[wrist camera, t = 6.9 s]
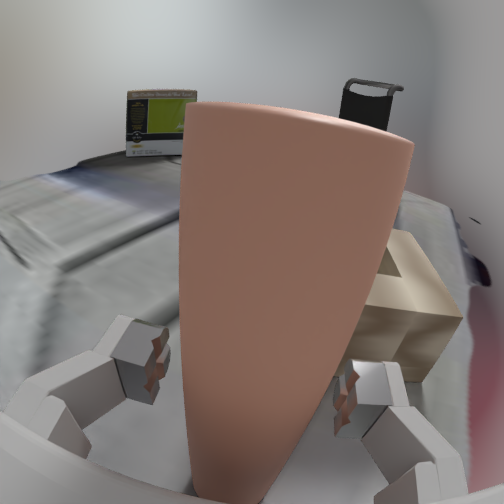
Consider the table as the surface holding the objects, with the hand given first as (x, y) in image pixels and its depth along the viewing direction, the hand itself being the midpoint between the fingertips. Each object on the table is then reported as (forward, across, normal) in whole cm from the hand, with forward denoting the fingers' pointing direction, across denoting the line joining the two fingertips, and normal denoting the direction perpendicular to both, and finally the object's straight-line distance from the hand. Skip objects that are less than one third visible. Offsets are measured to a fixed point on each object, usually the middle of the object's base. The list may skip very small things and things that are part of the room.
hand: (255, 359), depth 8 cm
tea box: (+60, -29, -9) cm, 67 cm away
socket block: (+13, +6, -8) cm, 17 cm away
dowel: (-1, 0, -8) cm, 9 cm away
